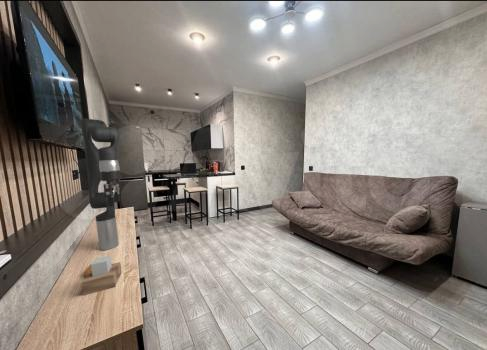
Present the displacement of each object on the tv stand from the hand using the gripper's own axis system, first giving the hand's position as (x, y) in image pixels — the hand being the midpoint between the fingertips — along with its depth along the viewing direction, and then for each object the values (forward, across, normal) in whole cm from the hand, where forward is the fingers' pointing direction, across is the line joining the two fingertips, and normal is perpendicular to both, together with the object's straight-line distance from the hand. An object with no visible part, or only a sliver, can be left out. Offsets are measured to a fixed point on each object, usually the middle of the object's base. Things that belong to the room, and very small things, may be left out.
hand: (114, 204), depth 85 cm
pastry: (+30, +2, -10) cm, 32 cm away
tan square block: (+30, +14, -3) cm, 33 cm away
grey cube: (+25, +14, -3) cm, 29 cm away
